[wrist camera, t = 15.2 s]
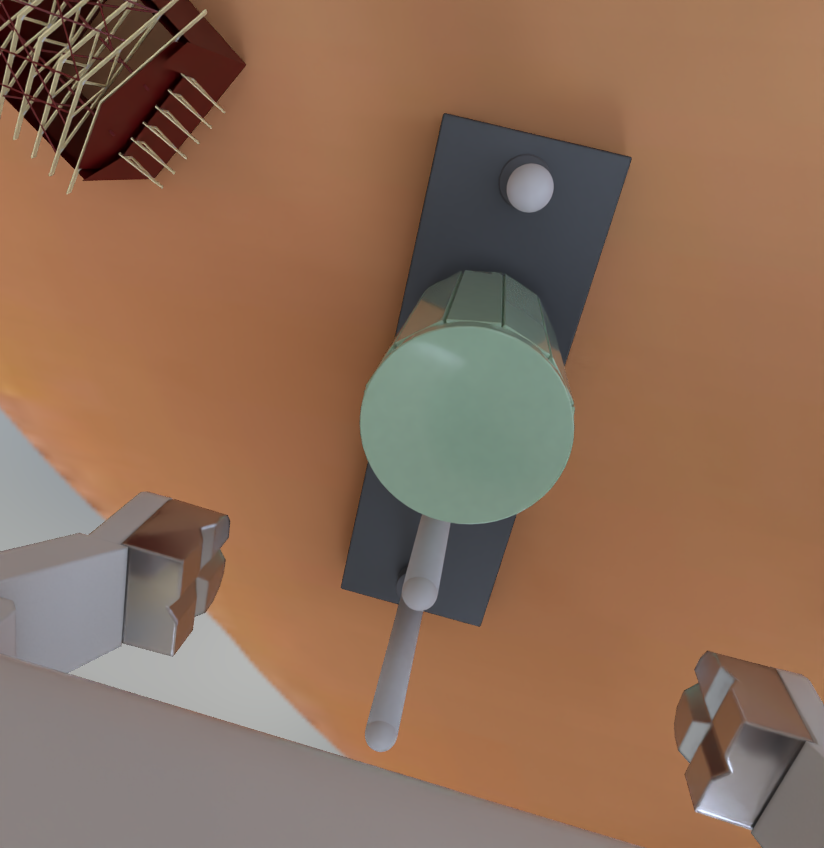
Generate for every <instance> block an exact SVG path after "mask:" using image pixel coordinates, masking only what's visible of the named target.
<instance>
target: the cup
mask: <svg viewBox="0 0 824 848" xmlns="http://www.w3.org/2000/svg"><path fill="white" fill-rule="evenodd" d="M574 411H575V407H574V401H573V397H572V393H571V390H570V386H569V382H568V379H567V375H566V372H565V368H564V364H563V361H562V357H561V353H560V350H559V346H558V342H557V339H556V335H555V331H554V329H553V327H552V324H551V322H550V320H549V318H548V316H547V313H546V311H545V309H544V307H543V305H542V302H541V300H540V298H538V297H537V295H536V294H535V293H533V292H532V291H530V290H529V289H527V288H526V287H525V286H523V285H522V284H520V283H519V282H517V281H516V280H514V279H513V278H511V277H510V276H508V275H507V274H505V275H504V276H503V273H499V272H483V271H467V270H465V271H464V272H463V273H462V271H460V272H458V273H456V274H454V275H452V276H450V277H448V278H446V279H444V280H442V281H440V282H438V283H436V284H434V285H432V286H430V287H428V288H427V290H425V291H424V293H423V294H422V296H421V297H420V299H419V300H418V302H417V303H416V305H415V307H414V308H413V310H412V311H411V313H410V314H409V316H408V317H407V319H406V321H405V322H404V324H403V325H402V327H401V329H400V330H399V332H398V334H397V335H396V337H395V338H394V340H393V342H392V343H391V345H390V347H389V348H388V350H387V352H386V353H385V355H384V356H383V358H382V360H381V361H380V363H379V365H378V366H377V368H376V370H375V371H374V373H373V374H372V376H371V378H370V379H369V381H368V383H367V384H366V389H365V390H364V396H363V401H362V405H361V411H360V435H361V440H362V445H363V449H364V452H365V454H366V457H367V460H368V462H369V464H370V466H371V468H372V470H373V471H374V473H375V474H376V476H377V477H378V479H379V480H380V482H381V483H382V484H383V485H384V486H385V488H386V489H387V490H388V491H389V492H390V493H391V494H392V495H393V496H395V497H396V498H397V499H398V500H399V501H401V502H402V503H404V504H405V505H406V506H408V507H409V508H411V509H413V510H415V511H417V512H419V513H421V514H423V515H426V516H428V517H430V518H433V519H437V520H440V521H444V522H450V523H456V524H483V523H489V522H494V521H498V520H502V519H505V518H508V517H511V516H513V515H515V514H517V513H520V512H522V511H523V510H525V509H527V508H528V507H530V506H532V505H533V504H534V503H536V502H537V501H538V500H539V499H541V498H542V497H543V496H544V495H545V494H546V493H547V492H548V491H549V490H550V489H551V488H552V487H553V485H554V484H555V483H556V481H557V480H558V479H559V477H560V476H561V474H562V472H563V470H564V468H565V466H566V464H567V462H568V459H569V456H570V453H571V449H572V445H573V440H574Z"/></svg>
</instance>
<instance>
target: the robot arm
mask: <svg viewBox="0 0 824 848" xmlns="http://www.w3.org/2000/svg"><path fill="white" fill-rule="evenodd" d="M229 528H230V520H229V517H228V515H225V514H222V513H219V512H215V511H212V510H209V509H205V508H202V507H199V506H195V505H192V504H189V503H186V502H182V501H179V500H176V499H172V498H170V497H166V496H162V495H158V494H155V493H151V492H140V493H139V494H138V495H136V496H135V497H134V498H133V499H131V500H130V501H129V502H128V503H127V504H125V505H124V506H123V507H122V508H121V509H119V510H118V511H117V512H116V513H114V514H113V515H112V516H111V517H110V518H108V519H107V520H106V521H105V522H103V523H102V524H101V525H100V526H99V527H97V528H96V529H95V530H94V531H93V532H91V533H90V534H89V535H85V534H81V533H78V534H73V535H68V536H65V537H60V538H56V539H52V540H47V541H43V542H39V543H34V544H30V545H26V546H22V547H17V548H13V549H9V550H5V551H0V848H645V847H641V846H638V845H635V844H631V843H628V842H625V841H621V840H618V839H615V838H611V837H608V836H605V835H601V834H598V833H595V832H592V831H588V830H585V829H582V828H578V827H575V826H572V825H568V824H565V823H562V822H558V821H555V820H552V819H548V818H545V817H542V816H538V815H535V814H532V813H528V812H525V811H522V810H519V809H515V808H512V807H509V806H505V805H502V804H499V803H495V802H492V801H489V800H485V799H482V798H479V797H476V796H472V795H469V794H466V793H462V792H459V791H456V790H452V789H449V788H446V787H442V786H439V785H436V784H432V783H429V782H426V781H423V780H419V779H416V778H413V777H409V776H406V775H403V774H399V773H396V772H393V771H389V770H386V769H383V768H380V767H376V766H373V765H370V764H366V763H363V762H360V761H356V760H353V759H350V758H346V757H343V756H340V755H336V754H333V753H330V752H326V751H323V750H320V749H317V748H313V747H310V746H307V745H303V744H300V743H296V742H293V741H290V740H287V739H283V738H280V737H277V736H273V735H270V734H267V733H264V732H260V731H257V730H254V729H250V728H247V727H244V726H240V725H237V724H234V723H230V722H227V721H224V720H221V719H217V718H214V717H210V716H207V715H204V714H201V713H197V712H194V711H191V710H187V709H184V708H181V707H177V706H174V705H171V704H168V703H164V702H161V701H158V700H154V699H151V698H148V697H144V696H141V695H138V694H135V693H131V692H128V691H125V690H121V689H117V688H115V687H111V686H108V685H105V684H101V683H98V682H95V681H91V680H88V679H85V678H82V677H78V676H75V675H72V674H68V673H69V672H71V671H73V670H75V669H77V668H79V667H80V666H83V665H85V664H87V663H89V662H90V661H92V660H95V659H97V658H98V657H100V656H102V655H104V654H106V653H108V652H110V651H112V650H114V649H116V648H118V647H120V646H121V645H122V643H124V644H127V645H131V646H135V647H138V648H142V649H146V650H150V651H153V652H157V653H161V654H165V655H169V656H172V657H173V656H174V655H175V653H176V652H177V650H178V649H179V648H180V647H181V645H182V644H183V642H184V641H185V640H186V638H187V637H188V636H189V634H190V633H191V632H192V630H193V625H194V617H195V616H198V615H201V614H203V613H205V612H206V611H207V609H208V608H209V607H210V605H211V604H212V602H213V600H214V598H215V596H216V594H217V592H218V589H219V587H220V584H221V581H222V577H223V573H224V567H225V561H226V560H225V558H224V556H223V554H222V552H221V550H220V548H221V547H222V546H223V544H224V543H225V542H226V540H227V539H228V538H229ZM694 670H695V673H696V676H697V679H698V682H699V683H697V684H695V685H694V686H692V687H690V688H688V689H686V690H684V692H683V694H682V696H681V699H680V701H679V703H678V706H677V710H676V716H675V722H674V730H675V740H676V744H677V748H678V751H679V752H680V753H681V754H682V755H683V756H684V758H685V759H686V760H687V761H688V762H689V763H690V764H689V766H688V768H687V770H686V772H685V778H686V781H687V785H688V788H689V792H690V796H691V799H692V803H693V806H694V810H695V812H698V813H701V814H704V815H707V816H710V817H713V818H716V819H719V820H722V821H725V822H728V823H731V824H734V825H737V826H740V827H744V828H747V829H750V830H752V831H751V833H752V835H753V836H754V837H755V839H756V840H757V841H758V843H759V844H760V845H761V847H762V848H824V704H823V703H822V701H821V699H820V697H819V696H818V694H817V692H816V691H815V689H814V687H813V685H812V684H811V682H810V680H808V679H807V678H806V677H805V676H803V675H802V674H798V673H794V672H790V671H786V670H782V669H778V668H773V667H768V666H764V665H760V664H756V663H752V662H748V661H745V660H741V659H737V658H733V657H729V656H725V655H722V654H718V653H714V652H710V651H707V652H706V653H705V654H704V655H703V656H702V657H701V658H700V660H699V661H698V663H697V665H696V667H695V669H694Z"/></svg>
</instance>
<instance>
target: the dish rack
mask: <svg viewBox="0 0 824 848" xmlns="http://www.w3.org/2000/svg"><path fill="white" fill-rule="evenodd" d="M630 163H631V157H629V156H625V155H621V154H616V153H612V152H608V151H604V150H599V149H595V148H591V147H587V146H582V145H578V144H574V143H570V142H565V141H561V140H557V139H553V138H548V137H544V136H540V135H536V134H532V133H527V132H523V131H519V130H515V129H510V128H506V127H502V126H498V125H493V124H489V123H485V122H481V121H476V120H472V119H468V118H464V117H459V116H455V115H451V114H447V113H444V114H443V117H442V122H441V126H440V131H439V136H438V140H437V145H436V150H435V154H434V159H433V163H432V168H431V173H430V177H429V182H428V187H427V191H426V196H425V200H424V205H423V210H422V214H421V219H420V223H419V228H418V233H417V237H416V242H415V247H414V251H413V256H412V260H411V265H410V270H409V274H408V279H407V284H406V288H405V293H404V297H403V302H402V307H401V311H400V316H399V321H398V325H397V330H396V334H395V337H396V335H397V334H398V332H399V330H400V329H401V327H402V325H403V324H404V322H405V321H406V319H407V317H408V316H409V314H410V313H411V311H412V310H413V308H414V307H415V305H416V303H417V302H418V300H419V299H420V297H421V296H422V294H423V293H424V291H425V290H427V288H428V287H430V286H432V285H434V284H436V283H438V282H440V281H442V280H444V279H446V278H448V277H450V276H452V275H454V274H456V273H458V272H460V271H462V273H463V272H464V271H465V270H467V271H483V272H499V273H503V276H504V275H505V274H507V275H508V276H510V277H511V278H513V279H514V280H516V281H517V282H519V283H520V284H522V285H523V286H525V287H526V288H527V289H529V290H530V291H532V292H533V293H535V294H536V295H537V297H538V298H540V300H541V302H542V305H543V307H544V309H545V311H546V313H547V316H548V318H549V320H550V322H551V324H552V327H553V329H554V331H555V335H556V339H557V342H558V346H559V350H560V353H561V357H562V361H563V364H564V367H565V364H566V360H567V357H568V354H569V351H570V348H571V345H572V342H573V339H574V336H575V333H576V330H577V326H578V323H579V320H580V317H581V314H582V311H583V308H584V305H585V302H586V299H587V296H588V292H589V289H590V286H591V283H592V280H593V277H594V274H595V271H596V268H597V265H598V262H599V258H600V255H601V252H602V249H603V246H604V243H605V240H606V237H607V234H608V231H609V227H610V224H611V221H612V218H613V215H614V212H615V209H616V206H617V203H618V200H619V197H620V193H621V190H622V187H623V184H624V181H625V178H626V175H627V172H628V169H629V166H630ZM516 515H517V514H515V515H513V516H511V517H508V518H505V519H502V520H498V521H494V522H489V523H483V524H456V523H450V522H444V521H440V520H437V519H433V518H430V517H428V516H426V515H423V514H421V513H419V512H417V511H415V510H413V509H411V508H409V507H408V506H406V505H405V504H404V503H402V502H401V501H399V500H398V499H397V498H396V497H395V496H393V495H392V494H391V493H390V492H389V491H388V490H387V489H386V488H385V486H384V485H383V484H382V483H381V482H380V480H379V479H378V477H377V476H376V474H375V473H374V471H373V470H372V468H371V466H370V464H369V462H368V464H367V468H366V473H365V478H364V482H363V487H362V492H361V496H360V501H359V505H358V510H357V515H356V519H355V524H354V529H353V533H352V538H351V542H350V547H349V552H348V556H347V561H346V566H345V570H344V575H343V579H342V584H341V588H342V589H345V590H349V591H352V592H356V593H359V594H363V595H367V596H370V597H374V598H377V599H381V600H385V601H388V602H392V603H396V604H399V605H398V609H397V613H396V617H395V620H394V624H393V628H392V632H391V635H390V639H389V643H388V647H387V650H386V654H385V658H384V662H383V665H382V669H381V673H380V677H379V681H378V684H377V688H376V692H375V696H374V699H373V703H372V707H371V711H370V714H369V718H368V722H367V726H366V730H365V739H366V742H367V744H368V745H369V746H370V748H372V749H373V750H375V751H378V752H384V751H387V750H389V749H390V748H391V747H392V746H393V745H394V744H395V742H396V739H397V735H398V730H399V725H400V720H401V716H402V711H403V706H404V701H405V696H406V691H407V687H408V682H409V677H410V672H411V667H412V662H413V658H414V653H415V648H416V643H417V638H418V633H419V628H420V624H421V619H422V614H423V611H425V612H428V613H432V614H435V615H439V616H443V617H446V618H450V619H453V620H457V621H461V622H464V623H468V624H472V625H475V626H479V627H480V626H481V623H482V620H483V617H484V614H485V611H486V608H487V605H488V602H489V598H490V595H491V592H492V589H493V586H494V583H495V580H496V577H497V574H498V571H499V568H500V564H501V561H502V558H503V555H504V552H505V549H506V546H507V543H508V540H509V537H510V534H511V530H512V527H513V524H514V521H515V518H516Z"/></svg>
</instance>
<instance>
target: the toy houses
mask: <svg viewBox="0 0 824 848" xmlns="http://www.w3.org/2000/svg"><path fill="white" fill-rule="evenodd" d="M106 1H107V0H0V118H1V113H2V109H3V104H4V100H5V99H6V100H7V101H8V102H9V103H10V104H11V105H12V106H13V107H14V108H15V109H16V110H17V111H18V112H19V116H18V120H17V124H16V128H15V132H14V136H13V140H16V139H18V137H19V133H20V129H21V125H22V121H23V118H25V119H26V120H27V121H28V122H29V123H30V124H31V125H32V126H33V127H34V128H35V129H36V130H37V131H38V134H37V138H36V141H35V145H34V148H33V152H32V155H31V158H34V157H36V155H37V152H38V148H39V145H40V141H41V138H42V136H43V137H44V138H45V139H46V140H47V142H48V143H49V144H50V145H51V146H52V148H53V149H54V151H55V153H56V154H55V157H54V161H53V164H52V167H51V170H50V173H49V176H52V175H54V172H55V169H56V166H57V163H58V160H59V157H60V155H61V156H62V157H63V158H64V159H65V160H66V161H67V162H68V163H69V164H70V165H71V166H72V167H73V168H74V169H75V171H74V173H73V176H72V179H71V182H70V184H69V187H68V190H67V194H69V193H71V192H72V189H73V186H74V183H75V181H76V178H77V175H78V173H79V174H80V175H81V176H82V177H83V178H84V180H83V181H93V180H129V179H150V180H152V181H153V182H154V183H156V184H157V185H158V186H159V187H161V188H163V185H161V184H160V183H159V182H157V181H156V180H155V179H154V178H155V177H156V176H157V174H158V173H159V172H160V171H161V169H162V168H163V167H166V168H167V169H168V170H169V171H171V172H172V173H173V174H175V171H174V170H172V169H171V168H170V167H169V166H167V165H166V163H167V162H168V161H169V160H170V158H171V157H172V156H173V155H174V153H175V152H178V153H179V154H180V155H181V156H182V157H184V158H185V159H187V156H185V155H184V154H183V153H182V152H181V151H179V150H178V149H179V147H180V146H181V145H182V144H183V142H184V141H185V140H186V139H187V137H188V136H189V137H190V138H192V139H193V140H194V141H195V142H196V143H197V144H199V143H200V142H199V141H198V140H197V139H195V138H194V137H193V136H192V135H191V132H192V131H193V130H194V129H195V128H196V126H197V125H198V124H199V123H200V121H203V122H204V123H205V124H206V125H207V126H208V127H209V128H210V129H212V126H211V125H210V124H209V123H207V122H206V121H205V120H204V119H203V118H204V116H205V115H206V114H207V113H208V111H209V110H210V109H211V108H212V107H213V105H215V106H216V107H218V108H219V109H220V110H221V111H222V112H223V113H225V111H224V110H223V109H222V108H221V107H220V106H219V105H218V104H217V103H216V102H217V100H218V99H219V98H220V97H221V95H222V94H223V93H224V92H225V90H226V89H227V88H228V87H229V86H230V84H231V83H232V82H233V81H234V79H235V78H236V77H237V76H238V74H239V73H240V72H241V71H242V69H243V68H244V67H245V66H246V64H245V63H244V62H243V61H242V59H241V58H240V57H239V56H238V55H237V54H236V53H235V52H234V50H233V49H232V48H231V47H230V46H229V45H228V44H227V43H226V41H225V40H224V39H223V38H222V37H221V36H220V35H219V34H218V32H217V31H216V30H215V29H214V28H213V27H212V26H211V25H210V23H209V22H208V21H207V20H206V19H205V18H204V16H205V15H206V14H207V10H206V9H205V10H204V11H203V12H202V13H200V12H199V11H198V10H197V9H196V8H195V7H194V6H193V4H192V3H191V2H190V1H189V0H141V1H142V3H143V4H144V5H145V6H143V5H141V4H138V3H136V2H137V1H138V0H124V1H126V2H125V3H124V4H122V5H121V6H115V5H107V4H105V2H106ZM134 5H137V6H140V7H143V8H145V9H148V10H144V9H136V8H133V6H134ZM103 6H106V7H113V8H118V9H117V10H115V11H114V12H113V13H112V14H111V15H110V16H108V17H107V18H106V19H105V18H104V14H103V11H102V7H103ZM128 6H129V7H128ZM124 9H127V10H126V11H125V13H124V14H123V15H122V17H121V18H120V20H119V21H118V22H117V24H116V25H115V27H114V28H113V30H112V31H111V32H110V34H109V33H108V29H107V24H108V23H109V22H110V21H111V20H112V19H114V18H115V17H116V16H117V15H118V14H119V13H121V12H122V11H123V10H124ZM100 10H101V14H102V18H103V22H102V23H100V24H99V25H98V26H97V27H96V28H92V27H91V25H90V24H91V23H92V21H93V20H94V18H95V17H96V15H97V14H98V12H99V11H100ZM131 10H135V11H142V12H149V13H152V14H153V15H154V16H153V17H152V18H151V19H150V20H149V21H147V22H146V23H145V24H144V25H143V26H142V27H141V28H139V29H138V30H137V31H136V32H135V33H134V34H132V35H131V36H130V37H129V38H128V39H127V40H126V41H125V39H122V38H119V37H117V36H114V33H115V32H116V30H117V29H118V28H119V26H120V25H121V23H122V22H123V21H124V19H125V18H126V16H127V15H128V14H129V12H130V11H131ZM158 20H159V21H160V22H161V24H162V25H163V26H164V27H165V28H166V29H167V30H168V31H169V32H170V33H171V35H172V36H173V38H172V39H171V40H170V41H168V42H167V43H166V44H165V45H164V46H163V47H162V48H160V49H159V50H158V51H157V52H156V53H155V54H154V55H152V56H151V57H150V58H149V59H148V60H147V61H145V62H144V63H143V64H142V65H141V66H140V67H139V68H137V69H136V70H135V71H134V72H133V71H132V70H131V69H130V67H129V66H128V65H127V62H128V61H129V59H130V58H131V57H132V55H133V54H134V53H135V51H136V50H137V48H138V47H139V46H140V44H141V43H142V42H143V40H144V39H145V38H146V36H147V35H148V33H149V32H150V31H151V29H152V28H153V27H154V25H155V24H156V23H157V21H158ZM104 26H105V29H106V32H107V33H106V32H103V31H101V29H102V28H103V27H104ZM147 27H148V29H147V30H146V31H145V33H144V34H143V36H142V37H141V38H140V40H139V41H138V42H137V44H136V45H135V47H134V48H133V49H132V51H131V52H130V53H129V55H128V56H127V57H126V59H125V60H124V61H123V60H122V59H121V58H120V57H119V55H120V52H121V50H122V49H123V48H124V47H126V46H127V45H128V44H129V43H130V42H131V41H133V40H134V39H135V38H136V37H137V36H138V35H139V34H141V33H142V32H143V31H144V30H145V29H146V28H147ZM87 28H89V29H90V30H91V32H90V33H89V34H88V35H86V36H85V37H84V38H83V39H82V40H81V41H79V40H80V39H81V37H82V36H83V34H84V33H85V31H86V30H87ZM100 33H103V34H105V35H107V36H108V37H107V38H106V39H105V41H104V39H103V38H102V37H101V36H100ZM94 35H96V37H95V40H94V43H93V46H92V49H91V53H90V56H84V55H77V54H73V53H74V52H75V51H76V50H78V49H79V48H80V47H81V46H82V45H83V44H85V43H86V42H87V41H88V40H89V39H90V38H92V37H93V36H94ZM111 37H113V38H116V39H119V40H121V41H124V42H123V43H122V44H121V45H120V46H119V47H117V48H116V49H115V50H113V48H112V44H111V40H110V39H111ZM98 38H99V39H100V40H101V42H102V43H103V44H102V45H101V47H100V48H99V49H98V51H97V52H96V54H95V55H94V56H93V53H94V50H95V47H96V44H97V41H98ZM78 41H79V42H78ZM177 41H178V42H179V43H178V42H177ZM108 42H109V44H110V46H109V45H108V44H107V43H108ZM105 46H106V47H107V48H108V49H109V50H110V51H111V52H112V53H111V54H109V55H108V56H107V57H106V58H105V59H104V58H97V57H98V56H99V54H100V53H101V52H102V50H103V49H104V47H105ZM69 56H72V59H73V61H70V60H66V59H67V58H68V57H69ZM74 56H76V57H83V58H89V59H88V62H87V64H83V63H79V62H75V60H74ZM114 56H115V60H111V59H112V58H113V57H114ZM96 59H97V60H102V61H101V62H100V63H99V64H98V65H97V66H96V67H94V68H93V69H92V70H91V71H90V72H89V73H87V71H88V70H89V68H90V67H91V66H92V64H93V63H94V61H95V60H96ZM118 60H119V61H118ZM108 61H111V62H114V63H113V65H112V68H111V71H110V74H109V77H108V80H107V83H106V85H105V84H100V83H95V82H90V81H87V80H88V79H89V78H90V77H91V76H92V75H93V74H94V73H96V72H97V71H98V70H99V69H100V68H101V67H103V66H104V65H105V64H106V63H107V62H108ZM117 62H118V63H122V64H121V66H120V67H119V68H118V70H117V71H116V73H115V74H114V75H113V77H112V74H113V72H114V69H115V66H116V63H117ZM64 63H69V64H73V65H74V67H75V70H76V75H75V76H74V77H72V76H70V75H67V74H65V73H62V72H61V70H62V66H63V64H64ZM76 65H77V66H81V67H84V68H83V69H82V70H81V71H80V72H78V71H77V67H76ZM124 66H125V67H126V68H127V69H128V71H129V72H130V73H131V75H129V76H128V77H127V78H126V79H125V80H124V81H123V82H121V83H120V84H119V85H118V86H117V87H116V88H115V89H113V90H112V91H111V92H110V93H109V94H108V95H107V96H105V97H104V98H103V99H102V100H101V101H100V102H99V100H100V99H101V98H102V96H103V95H104V94H105V92H106V91H107V90H108V88H109V87H110V85H111V84H112V83H113V81H114V80H115V79H116V77H117V76H118V74H119V73H120V72H121V70H122V69H123V68H124ZM86 73H87V74H86ZM85 74H86V75H85ZM79 75H80V76H79ZM65 76H67V77H69V78H71V79H70V80H68V79H67V78H66V77H65ZM111 77H112V78H111ZM77 78H78V79H77ZM73 80H76V82H75V83H74V85H73V84H72V83H71V82H72V81H73ZM84 84H89V85H94V86H99V87H103V88H102V89H101V90H100V91H99V92H98V93H96V94H95V95H94V96H93V97H92V98H91V99H89V100H87V99H86V98H85V97H84V96H83V95H82V94H81V91H82V88H83V85H84ZM77 85H78V86H77ZM76 87H77V89H76ZM99 94H100V95H99ZM98 95H99V96H98ZM97 96H98V97H97ZM96 97H97V99H96V100H95V101H94V103H93V104H91V103H90V102H91V101H92V100H94V99H95V98H96ZM98 102H99V104H98V107H97V110H96V108H95V106H96V105H97V103H98Z"/></svg>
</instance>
